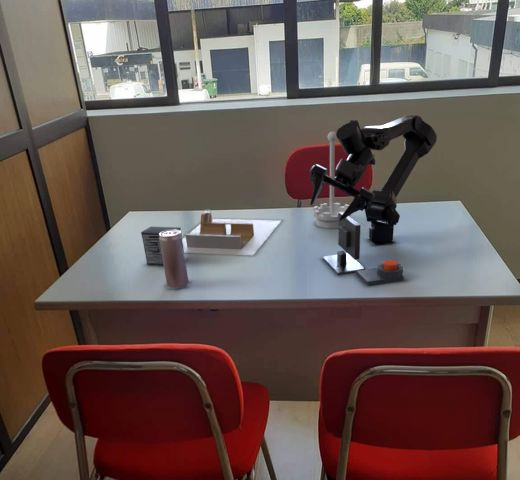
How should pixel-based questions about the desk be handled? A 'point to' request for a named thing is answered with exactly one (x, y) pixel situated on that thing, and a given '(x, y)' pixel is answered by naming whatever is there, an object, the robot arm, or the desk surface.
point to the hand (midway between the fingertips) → (325, 212)
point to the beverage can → (173, 258)
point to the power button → (390, 265)
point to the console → (380, 275)
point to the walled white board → (228, 235)
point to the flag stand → (330, 214)
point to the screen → (349, 236)
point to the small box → (154, 244)
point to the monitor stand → (343, 263)
